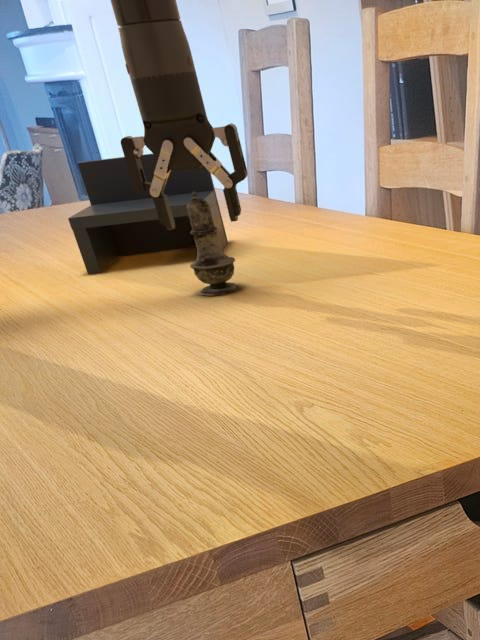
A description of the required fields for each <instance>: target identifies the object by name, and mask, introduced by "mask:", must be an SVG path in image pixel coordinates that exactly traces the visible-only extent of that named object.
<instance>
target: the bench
mask: <svg viewBox="0 0 480 640" xmlns="http://www.w3.org/2000/svg"><path fill="white" fill-rule="evenodd" d="M140 159H141V163H142V167H143V170H144V174H145V178H146V181H147V182H150V183H152V180H153V177H154V171H155V168H156V165H157V161H158V158H157V157H156V156H155V155H154V154H153V153H146V154H145V153H144V154H143V155H142V156H140ZM76 164H77V167H78V171H79V173H80V176H81V179H82V183H83V186H84V188H85V191H86V194H87V198H88V201H89V203H90V205H88V206H87V207H85V208H84V209H82V210H80V211H78V212H77V213H75V214H73V215H71V216H69V217H68V218H67V221H68V223H69V225H70V228H71V230H72V233H73V236H74V238H75V241H76V244H77V248H78V250H79V253H80V256H81V258H82V262H83V264H84V267H85V270H86V273H87V275H96V274H102V272H104V271H105V270H106V269H107V268H108V267H109V266H111V265H112V264H113V263H114V262H116V261H117V260H118V259H119V258H121V257H126V256H134V255H144V254H151V253H159V252H169V251H176V250H184V249H193V248H197V246H196V243H195V239H194V236H193V235H192V234H190V232H191V231H192V230H193V229H192V226H191V222H190V218H189V215H188V211H187V203H188V202H189V201H191V200H192V198H194V197H193V195H192V194H193V191H195V192H196V193H197V197H199V198H200V199H203V200H205V201H207V203H208V204H209V207H210V211H211V215H212V219H213V223H214V227H216V228H218V230H217V236H218V240H219V244H220V247H221V249H222V250H224V248H225V247H226V245H227V244H228V243H229V239H228V237H227V233H226V229H225V225H224V221H223V216H222V212H221V208H220V205H219V200H218V196H217V193H216V188H215V184H214V180H213V177H212V174H211V173H210V172H209V171H208V170H207V169H206V168H205V166H203V167H201V168H200V169H195V170H192V169H184V170H182V171H178V172H174V171H172V170H171V171H170V174H169V177H168V179H167V182H166V185H165V188H164V195H167V197H168V201H169V204H170V208H171V212H172V215H173V219H174V222H175V228H174V229H171V230H167V228H166V225H162V224H161V222H160V221H159V217H158V214H157V211H156V207H155V204H154V200H153V198H152V197H151V196H149V195H147V194H143V193H137V192H135V190H134V188H133V185H132V181H131V178H130V174H129V171H128V167H127V164H126V160H125V157H124V156H119V157H113V158H102V159H95V160H94V159H93V160H86V161H85V160H84V161H78V162H77V163H76Z"/></svg>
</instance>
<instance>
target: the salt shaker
mask: <svg viewBox="0 0 480 640" xmlns="http://www.w3.org/2000/svg"><path fill="white" fill-rule="evenodd" d="M192 195H193V197H194V198H192V200H191V201H189V202H188V203H187V211H188V215H189V218H190V222H191V226H192V229H193V230H192V231H191V232H190V234H192V235H193V236H194V239H195V243H196V246H197V247H196V253H197V256H196V257H197V258H196V259H195V261H194V262H192V263H191V264H190V265H189V268H190V269H192V270H193V273H194V275H195V276H196V278H197V279H198V281H200V282H201V283H203V284H207V285H206V286H205V287H203V288H202V289H201V290H200V292H199V295H200V296H202V297H203V296H204V297H215V296H223V295H227V294H231V293H235V292H236V291H238V290H240V288H241V287H240V285H238V284H236V283H235V282H228V281H230V280H231V279H232V278H233V276H234V274H235V265H234V263H235V262H236V258H235V257H232V256H228V255H227V254H225V252H224V251H223V249H221V247H220V244H219V240H218V236H217V230H218V228H216V227H214V223H213V219H212V215H211V211H210V207H209V204H208V203H207V201H205V200H203V199H200V198H199V197H197V193H196V192H195V191H193V194H192Z"/></svg>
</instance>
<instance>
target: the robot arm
mask: <svg viewBox="0 0 480 640" xmlns="http://www.w3.org/2000/svg"><path fill="white" fill-rule="evenodd" d="M110 4H111V6H112V7H111V8H112V10H113V14H114V18H115V21H116V25H117V26H118V28H117V29H118V33H119V38H120V45H121V50H122V54H123V58H124V61H125V63H124V64H125V68H126V71H127V75H129V79H130V82H131V86H132V89H133V93H134V97H135V100H136V103H137V104H136V105H137V107H138V111H139V114H140V117H141V121H142V124H143V135H141V136H131V135H127V136H126V135H125V136H124V137H122V138H121V140H120V146H121V150H122V153H123V157H125V160H126V164H127V167H128V171H129V174H130V178H131V181H132V185H133V188H134V190H135V192H137V193H143V194H147V195H149V196H151V197H152V198H153V200H154V204H155V207H156V211H157V214H158V217H159V221H160V222H161V224H162V225H166V228H167V230H171V229H174V228H175V222H174V219H173V215H172V212H171V208H170V204H169V201H168V197H167V195H164V188H165V185H166V182H167V179H168V177H169V174H170V171H171V170H172V171H174V172H178V171H182V170H184V169H192V170H195V169H200V168H201V167H203V166H205V168H206V169H207V170H208V171H209V172H210V173H211V175H213V176H214V177H215V179H217V180H218V182H220V184H221V185H222V186H223V187H224V188H223V189H222V191H223V196H224V200H225V204H226V208H227V212H228V216H229V221H230V222H231V223H233V222H237V221H238V220H239V216H240V215H241V214H242V207H241V203H240V198H239V194H238V190H237V185H238V184H239V183H241V182H243V181H244V180H245V179H247V177H248V175H249V173H248V168H247V164H246V161H245V157H244V156H245V155H244V153H243V149H242V144H241V139H240V136H239V132H238V127H237V126H236V125H235V124H234V123H228V124H227V125H224V126H217V127H216V126H215V127H213V125H212V124H211V122H210V121H209V119H208V116H207V111H206V108H205V103H204V99H203V95H202V90H201V87H200V82H199V79H198V76H197V71H196V67H195V63H194V62H195V61H194V59H193V54H192V51H191V47H190V43H189V40H188V37H187V34H186V32H185V29H184V26H183V22H182V20H181V16H180V11H179V7H178V4H177V0H110ZM216 138H217V139H219V140H220V143H221V144H222V146H223V147H227V148H228V152H229V155H230V159H231V163H232V168H233V172H229V170H228V169H227V168H226V167H225V166H224V165H223V163H222V162H221V161H220V160H219V159H218V158H217V156H216V155H215V154H214V153H213V152H212V149H213V146H214V144H215V141H216ZM145 146H146V149H148V150H149V151H150V152H151V154H154V155H155V156H156V157H157V158H158V161H157V165H156V168H155V171H154V177H153V180H152V183H150V182H147V181H146V178H145V174H144V170H143V167H142V163H141V159H140V156H142V155H144V147H145Z"/></svg>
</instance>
